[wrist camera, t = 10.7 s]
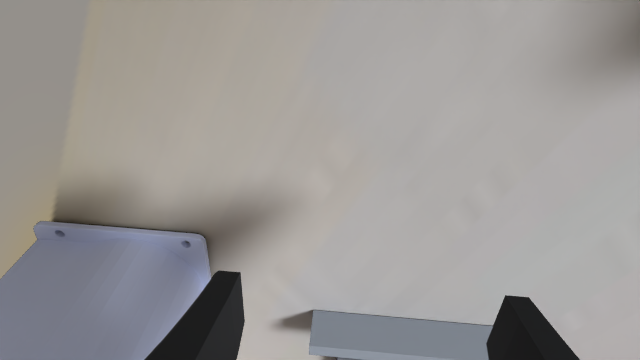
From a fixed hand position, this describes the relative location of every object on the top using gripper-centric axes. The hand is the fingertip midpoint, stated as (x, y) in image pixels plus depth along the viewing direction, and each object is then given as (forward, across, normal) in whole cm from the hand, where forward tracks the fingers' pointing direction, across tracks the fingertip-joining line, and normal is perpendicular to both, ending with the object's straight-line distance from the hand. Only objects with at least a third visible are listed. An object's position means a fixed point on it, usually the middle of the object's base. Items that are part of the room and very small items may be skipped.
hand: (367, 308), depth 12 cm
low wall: (+9, -5, +12) cm, 16 cm away
